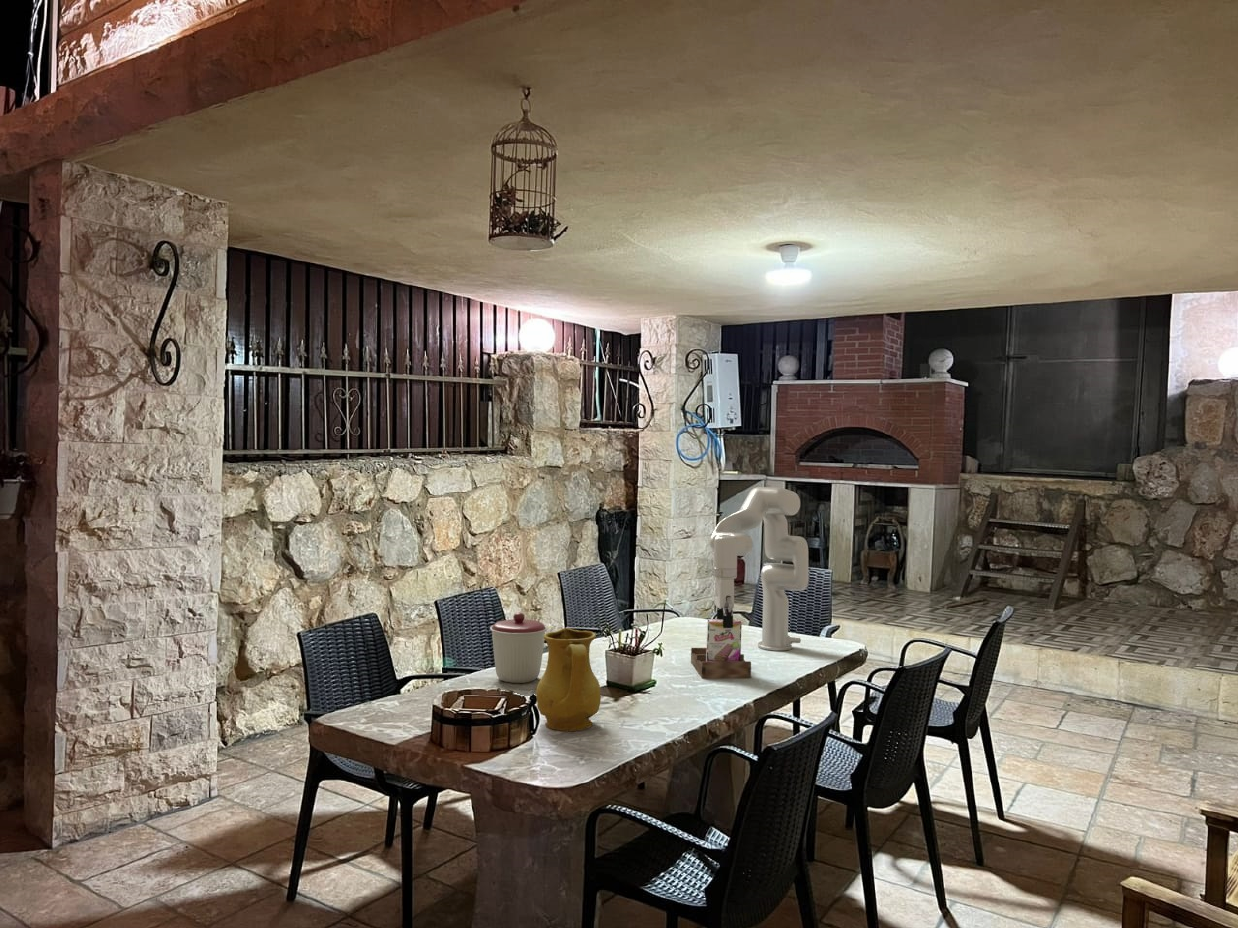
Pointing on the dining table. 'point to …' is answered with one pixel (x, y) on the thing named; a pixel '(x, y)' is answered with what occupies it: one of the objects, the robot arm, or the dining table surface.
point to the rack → (719, 666)
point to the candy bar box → (723, 641)
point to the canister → (518, 648)
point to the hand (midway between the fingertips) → (724, 624)
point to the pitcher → (568, 682)
